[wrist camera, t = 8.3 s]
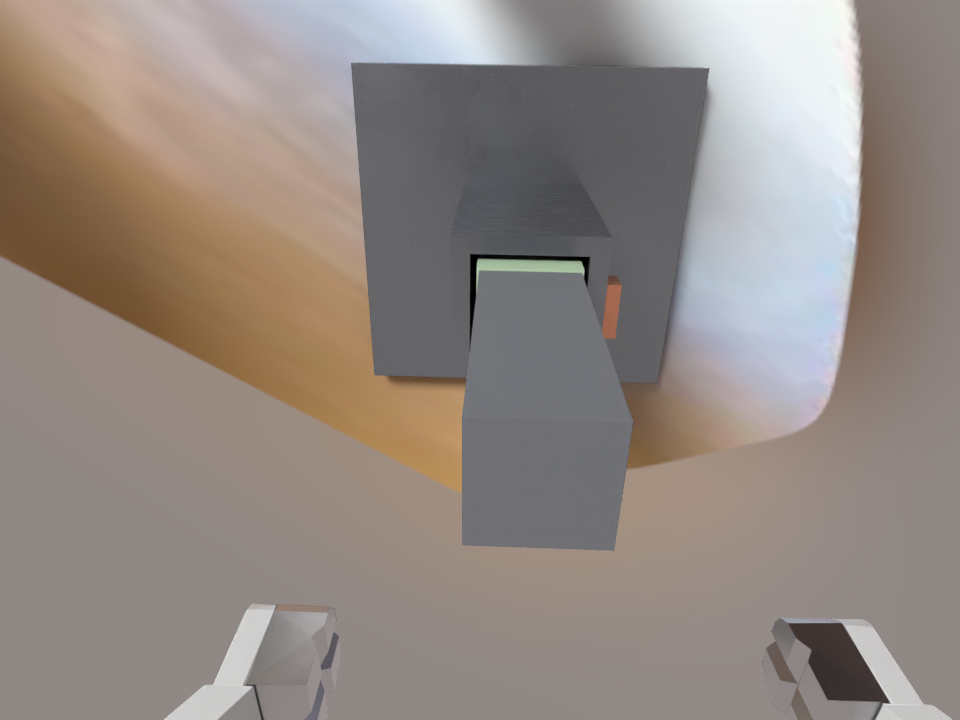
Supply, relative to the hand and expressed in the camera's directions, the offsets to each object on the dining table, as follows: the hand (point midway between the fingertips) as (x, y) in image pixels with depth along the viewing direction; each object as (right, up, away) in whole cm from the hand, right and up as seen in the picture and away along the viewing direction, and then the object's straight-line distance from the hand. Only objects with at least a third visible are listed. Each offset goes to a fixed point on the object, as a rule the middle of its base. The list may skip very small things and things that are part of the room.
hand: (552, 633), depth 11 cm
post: (+1, +9, +18) cm, 20 cm away
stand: (+1, +13, +25) cm, 28 cm away
